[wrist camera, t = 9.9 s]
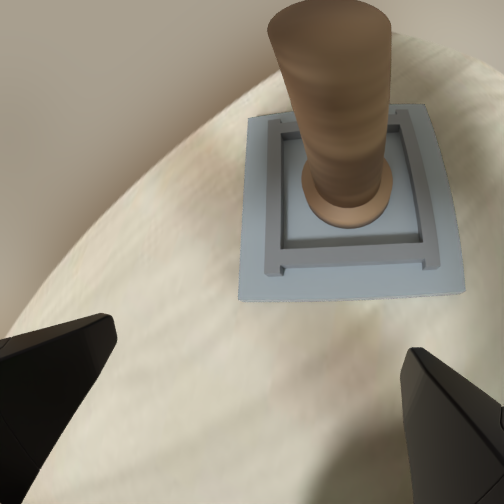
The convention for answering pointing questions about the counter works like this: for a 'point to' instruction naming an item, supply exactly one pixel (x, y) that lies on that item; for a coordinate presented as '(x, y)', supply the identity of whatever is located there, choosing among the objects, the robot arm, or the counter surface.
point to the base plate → (347, 240)
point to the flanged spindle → (339, 104)
